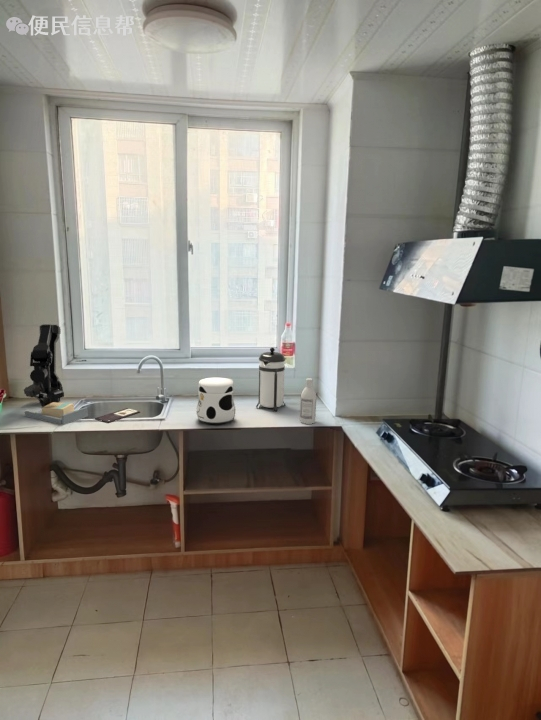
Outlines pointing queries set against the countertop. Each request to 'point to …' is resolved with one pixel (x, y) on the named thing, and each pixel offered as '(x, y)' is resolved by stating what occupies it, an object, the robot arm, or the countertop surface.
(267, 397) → the coffee press
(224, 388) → the milk container
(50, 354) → the robot arm
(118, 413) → the chocolate bar
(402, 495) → the countertop surface
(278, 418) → the countertop surface
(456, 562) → the countertop surface
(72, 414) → the grey tray
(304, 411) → the bath foam
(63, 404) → the carton
